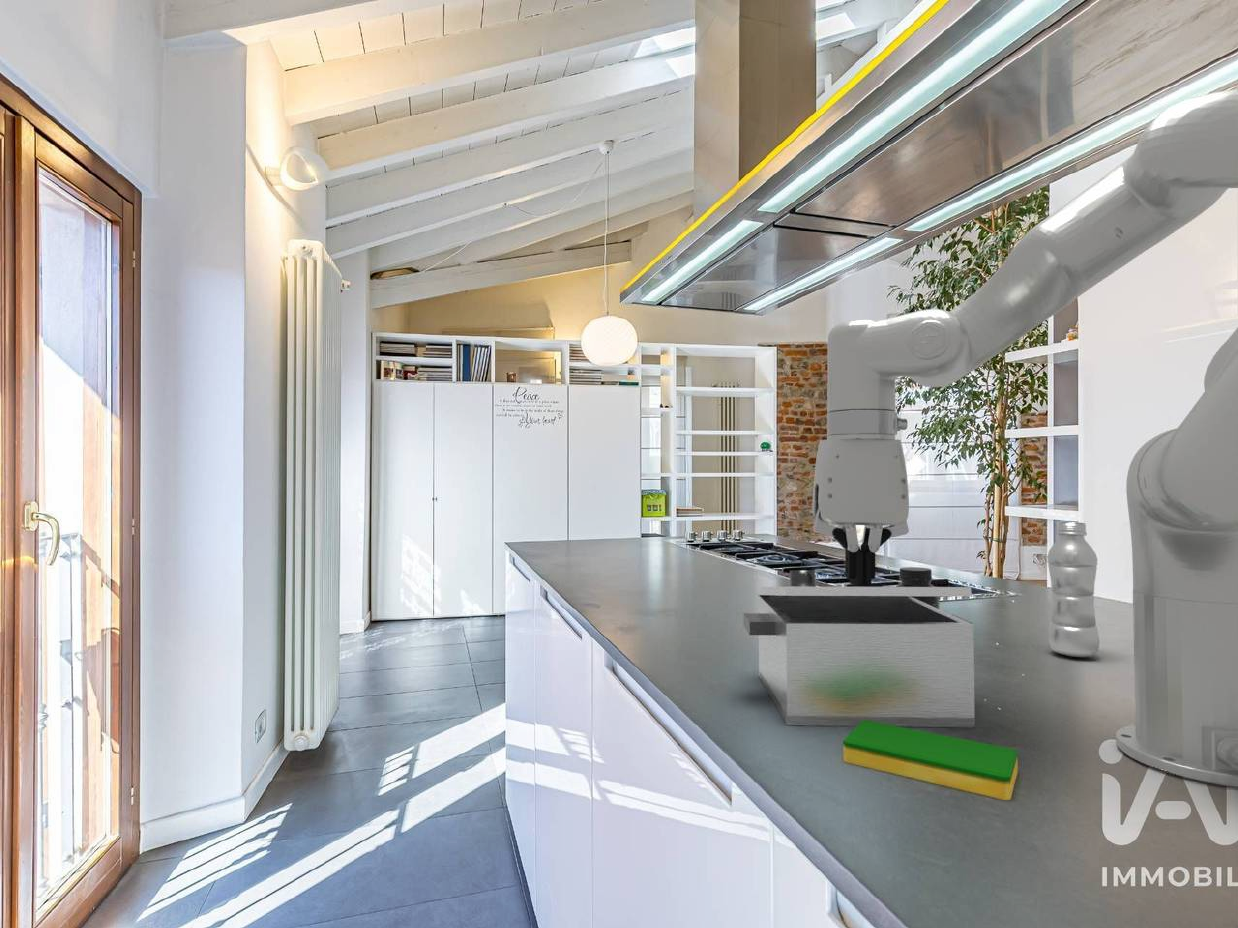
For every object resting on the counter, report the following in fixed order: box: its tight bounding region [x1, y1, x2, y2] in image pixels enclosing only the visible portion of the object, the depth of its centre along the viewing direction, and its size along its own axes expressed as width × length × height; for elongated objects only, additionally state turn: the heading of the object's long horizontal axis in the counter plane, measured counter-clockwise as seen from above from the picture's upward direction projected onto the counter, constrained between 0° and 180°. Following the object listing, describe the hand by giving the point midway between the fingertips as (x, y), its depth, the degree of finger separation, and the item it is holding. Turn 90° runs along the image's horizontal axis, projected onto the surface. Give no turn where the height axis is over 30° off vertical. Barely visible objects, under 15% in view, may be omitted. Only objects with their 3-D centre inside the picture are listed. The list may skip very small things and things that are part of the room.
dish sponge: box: [842, 720, 1019, 801], centre depth 63 cm, size 7×14×2 cm, turn 55°
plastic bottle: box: [1046, 521, 1100, 658], centre depth 102 cm, size 6×7×20 cm
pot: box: [742, 594, 976, 728], centre depth 82 cm, size 18×26×11 cm
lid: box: [757, 569, 973, 598], centre depth 83 cm, size 18×20×3 cm
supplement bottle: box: [895, 566, 941, 610], centre depth 110 cm, size 7×7×12 cm
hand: (860, 584), depth 79 cm, fingers closed
